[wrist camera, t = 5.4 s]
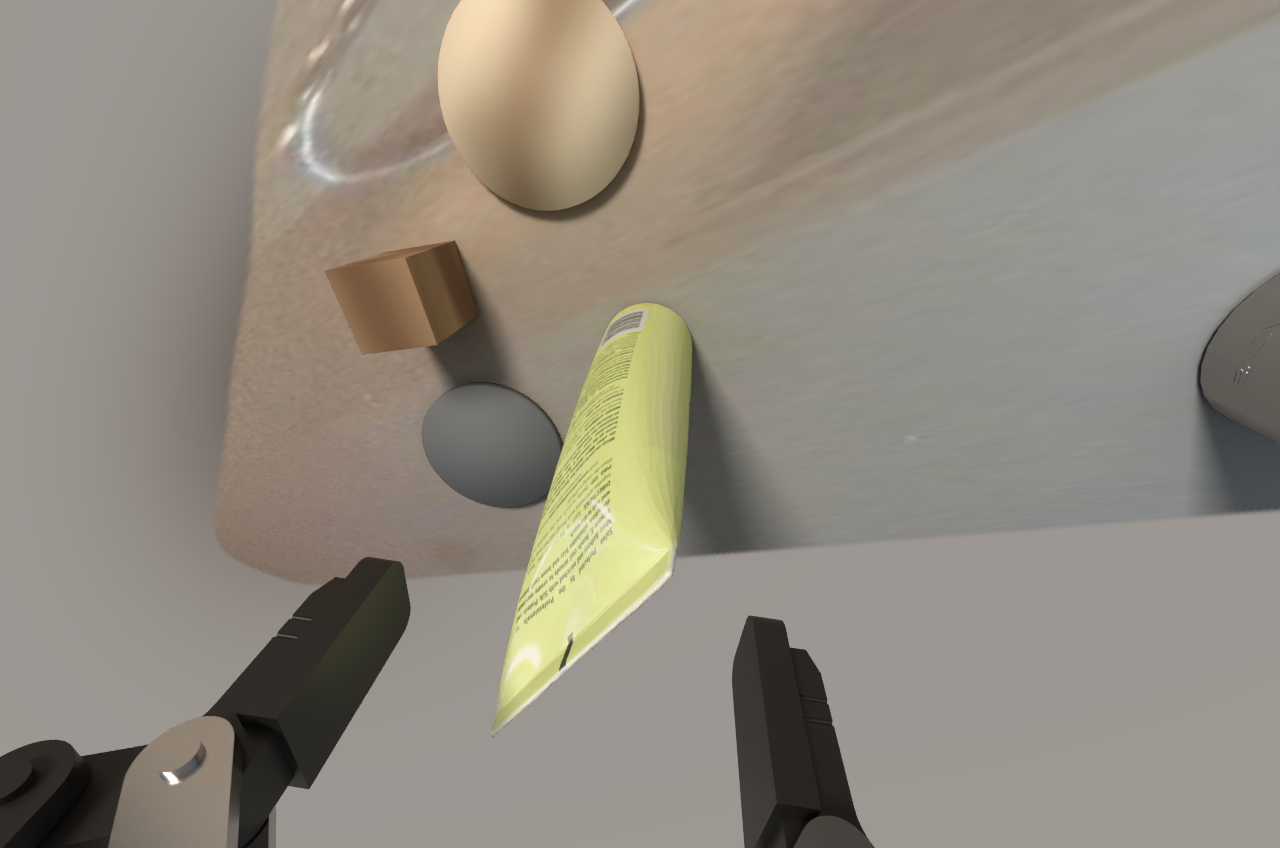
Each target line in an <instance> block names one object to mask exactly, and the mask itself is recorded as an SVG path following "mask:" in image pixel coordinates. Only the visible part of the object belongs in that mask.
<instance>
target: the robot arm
mask: <svg viewBox="0 0 1280 848" xmlns="http://www.w3.org/2000/svg"><path fill="white" fill-rule="evenodd" d="M1200 382H1201V386H1202V389H1203V393H1204V396H1205V398H1206V399H1207V401H1208V402H1209V404H1210V405H1211V406H1212V408H1213V409H1215V410H1216V411H1218V412H1219V413H1221V414H1222V415H1223V416H1225V417H1227V418H1229V419H1231V420H1233V421H1235V422H1237V423H1239V424H1241V425H1243V426H1245V427H1247V428H1249V429H1251V430H1253V431H1255V432H1257V433H1259V434H1261V435H1263V436H1265V437H1267V438H1269V439H1271V440H1273V441H1275V442H1277V443H1279V444H1280V274H1278V275H1277V276H1275V277H1274V278H1272V279H1271V280H1269V281H1268V282H1267V283H1265V284H1264V285H1262V286H1261V287H1259V288H1258V289H1257V290H1255V291H1254V292H1253V293H1252V294H1251V295H1250V296H1249V297H1248V298H1246V299H1245V300H1244V301H1243V302H1242V303H1241V304H1240V305H1239V306H1238V307H1236V308H1235V309H1234V311H1233V312H1232V313H1231V314H1230V315H1229V317H1228V318H1227V319H1226V320H1225V321H1224V323H1223V324H1222V325H1221V326H1220V327H1219V329H1218V330H1217V332H1216V334H1215V336H1214V337H1213V339H1212V341H1211V342H1210V344H1209V346H1208V348H1207V351H1206V354H1205V357H1204V359H1203V362H1202V366H1201V381H1200ZM409 616H410V601H409V595H408V590H407V584H406V579H405V573H404V568H403V565H402V563H401V562H399V561H392V560H385V559H379V558H372V557H366V558H364V559H362V560H361V561H360V562H359V563H358V564H357V565H356V566H355V568H354V569H353V570H352V571H351V572H350V574H349V575H348V576H347V577H346V579H344V578H338V577H335V578H334V579H332V580H331V581H329V582H328V583H326V584H325V585H323V586H322V587H320V588H319V589H318V590H316V591H315V592H313V593H312V594H311V595H310V596H309V597H308V598H307V599H306V600H305V601H304V603H303V604H302V605H301V606H300V607H299V608H298V609H297V611H296V612H295V613H294V614H293V617H292V619H289V620H288V621H287V622H286V623H285V624H284V626H283V627H282V628H281V629H280V630H279V631H278V634H277V636H276V637H273V638H272V639H271V641H270V642H269V643H268V644H267V645H266V646H265V648H264V649H263V650H262V651H261V652H260V653H259V654H258V655H257V657H256V658H255V659H254V660H253V661H252V662H251V664H250V665H249V666H248V667H247V668H246V669H245V670H244V672H243V673H242V674H241V675H240V676H239V677H238V678H237V680H236V681H235V682H234V683H233V684H232V685H231V687H230V688H229V689H228V690H227V691H226V692H225V693H224V695H223V696H222V697H221V698H220V699H219V700H218V702H217V703H216V704H215V705H214V706H213V707H212V708H211V709H210V710H209V711H208V712H207V713H206V714H205V715H204V716H202V717H199V718H195V719H191V720H189V721H185V722H184V723H181V724H178V725H176V726H175V727H173V728H171V729H169V730H168V731H166V732H165V733H163V734H161V735H160V736H159V737H158V738H156V739H155V740H154V741H152V742H151V743H150V744H148V745H144V746H138V747H133V748H127V749H121V750H115V751H109V752H104V753H98V754H93V755H86V756H80V755H79V754H78V753H77V752H76V750H75V749H74V748H73V747H72V746H71V745H70V744H69V743H67V742H65V741H61V740H46V741H40V742H36V743H32V744H29V745H26V746H23V747H21V748H18V749H16V750H13V751H11V752H9V753H7V754H5V755H3V756H1V757H0V848H276V807H275V805H276V803H277V802H278V800H279V799H280V797H281V796H282V794H283V793H284V791H285V789H286V788H287V786H293V787H299V788H305V789H309V788H310V787H311V785H312V784H313V782H314V780H315V779H316V777H317V775H318V774H319V772H320V770H321V769H322V767H323V765H324V764H325V762H326V760H327V759H328V757H329V756H330V754H331V752H332V751H333V749H334V747H335V746H336V744H337V742H338V741H339V739H340V737H341V736H342V734H343V732H344V731H345V729H346V727H347V726H348V724H349V722H350V721H351V719H352V717H353V716H354V714H355V712H356V711H357V709H358V708H359V706H360V704H361V703H362V701H363V699H364V698H365V696H366V694H367V693H368V691H369V689H370V688H371V686H372V684H373V683H374V681H375V679H376V678H377V676H378V674H379V673H380V671H381V670H382V668H383V666H384V665H385V663H386V661H387V659H388V658H389V656H390V654H391V653H392V651H393V650H394V648H395V646H396V645H397V643H398V641H399V640H400V638H401V636H402V635H403V633H404V631H405V629H406V626H407V623H408V620H409ZM732 688H733V700H734V714H735V727H736V739H737V753H738V766H739V779H740V792H741V806H742V819H743V832H744V845H745V848H874V846H873V845H872V843H871V842H870V841H869V840H868V838H867V836H866V835H865V833H864V831H863V829H862V827H861V825H860V823H859V821H858V818H857V816H856V812H855V809H854V805H853V801H852V798H851V793H850V789H849V785H848V781H847V777H846V773H845V769H844V765H843V761H842V758H841V753H840V749H839V745H838V741H837V737H836V733H835V729H834V726H832V717H831V713H830V709H829V705H828V704H827V697H826V693H825V689H824V685H823V681H822V677H821V673H820V672H819V670H818V668H817V667H816V665H815V664H814V662H813V661H812V659H811V657H810V656H809V654H808V653H807V651H806V650H803V649H796V648H790V647H789V642H788V637H787V632H786V628H785V625H784V623H783V621H781V620H776V619H769V618H763V617H756V616H748V618H747V620H746V623H745V626H744V629H743V632H742V635H741V638H740V642H739V645H738V648H737V651H736V654H735V658H734V663H733V673H732Z"/></svg>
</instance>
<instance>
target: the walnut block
mask: <svg viewBox="0 0 1280 848" xmlns="http://www.w3.org/2000/svg"><path fill="white" fill-rule="evenodd" d="M325 273H326V275H327V278H328V280H329V282H330V284H331V286H332V289H333V291H334V293H335V295H336V297H337V300H338V302H339V304H340V306H341V309H342V311H343V313H344V315H345V317H346V320H347V322H348V324H349V326H350V328H351V331H352V333H353V335H354V337H355V340H356V342H357V344H358V346H359V348H360V351H361V353H362V355H364V354H372V353H379V352H387V351H395V350H403V349H410V348H418V347H426V346H433V345H438V344H439V343H441V342H442V341H444V340H445V339H446V338H448V337H449V336H450V335H452V334H453V333H455V332H456V331H457V330H459V329H460V328H462V327H463V326H464V325H466V324H467V323H468V322H470V321H471V320H473V319H474V318H475V317H477V316H478V311H477V308H476V305H475V302H474V299H473V296H472V293H471V290H470V286H469V283H468V280H467V277H466V274H465V271H464V268H463V265H462V261H461V258H460V255H459V252H458V249H457V246H456V243H455V241H449V242H443V243H437V244H431V245H426V246H420V247H414V248H408V249H402V250H396V251H390V252H385V253H382V254H379V255H375V256H372V257H369V258H365V259H362V260H359V261H356V262H352V263H349V264H346V265H343V266H339V267H336V268H333V269H329V270H326V271H325Z"/></svg>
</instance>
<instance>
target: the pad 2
mask: <svg viewBox="0 0 1280 848" xmlns="http://www.w3.org/2000/svg"><path fill="white" fill-rule="evenodd" d="M422 442H423V447H424V450H425V453H426V456H427V458H428V460H429V462H430V464H431V466H432V467H433V469H434V470H435V472H436V473H437V474H438V475H439V477H440V478H441V479H442V480H443V481H444V482H445V483H446V484H447V485H449V486H450V487H451V488H452V489H454V490H455V491H457V492H458V493H460V494H461V495H463V496H465V497H467V498H469V499H471V500H473V501H476V502H478V503H481V504H485V505H489V506H494V507H517V506H522V505H526V504H529V503H531V502H534V501H536V500H537V499H539V498H541V497H542V496H543V495H545V494H546V493H547V492H548V491H549V490H550V487H551V484H552V481H553V477H554V474H555V471H556V467H557V464H558V461H559V458H560V455H561V451H562V443H561V439H560V436H559V433H558V431H557V429H556V427H555V425H554V423H553V422H552V420H551V419H550V417H549V416H548V415H547V414H546V413H545V411H544V410H543V409H542V408H541V407H540V406H539V405H537V404H536V403H535V402H534V401H533V400H531V399H530V398H529V397H527V396H525V395H524V394H522V393H520V392H518V391H516V390H514V389H511V388H509V387H506V386H503V385H499V384H494V383H485V382H476V383H468V384H463V385H460V386H457V387H455V388H453V389H451V390H449V391H447V392H446V393H444V394H443V395H442V396H441V397H440V398H438V399H437V400H436V401H435V402H434V403H433V405H432V406H431V407H430V409H429V410H428V412H427V414H426V416H425V418H424V422H423V426H422Z"/></svg>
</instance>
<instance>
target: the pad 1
mask: <svg viewBox="0 0 1280 848" xmlns="http://www.w3.org/2000/svg"><path fill="white" fill-rule="evenodd" d="M438 90H439V98H440V105H441V109H442V113H443V117H444V121H445V124H446V127H447V130H448V132H449V135H450V137H451V139H452V141H453V144H454V146H455V148H456V150H457V151H458V153H459V155H460V156H461V158H462V160H463V161H464V162H465V164H466V165H467V166H468V168H469V169H470V170H471V172H472V173H473V174H474V175H475V176H476V177H477V178H478V179H479V180H480V181H481V182H482V183H483V184H484V185H485V186H486V187H487V188H489V189H490V190H491V191H492V192H494V193H495V194H497V195H498V196H500V197H501V198H503V199H505V200H507V201H509V202H511V203H513V204H515V205H518V206H521V207H524V208H528V209H533V210H542V211H553V210H562V209H566V208H570V207H573V206H576V205H578V204H581V203H583V202H586V201H587V200H589V199H591V198H592V197H594V196H596V195H597V194H598V193H599V192H601V191H602V190H603V189H604V188H606V187H607V185H608V184H609V183H610V182H611V181H612V180H613V179H614V178H615V176H616V175H617V174H618V172H619V171H620V169H621V168H622V166H623V164H624V163H625V161H626V159H627V157H628V155H629V152H630V150H631V147H632V145H633V142H634V138H635V134H636V130H637V125H638V118H639V105H640V94H639V81H638V76H637V70H636V65H635V62H634V59H633V55H632V52H631V49H630V47H629V44H628V42H627V40H626V37H625V35H624V33H623V31H622V29H621V28H620V26H619V24H618V23H617V21H616V19H615V17H614V16H613V14H612V13H611V12H610V10H609V9H608V8H607V6H606V5H605V4H604V2H603V1H602V0H461V1H460V3H459V5H458V6H457V8H456V9H455V11H454V12H453V14H452V16H451V19H450V21H449V23H448V25H447V27H446V31H445V34H444V37H443V40H442V44H441V49H440V55H439V64H438Z"/></svg>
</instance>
